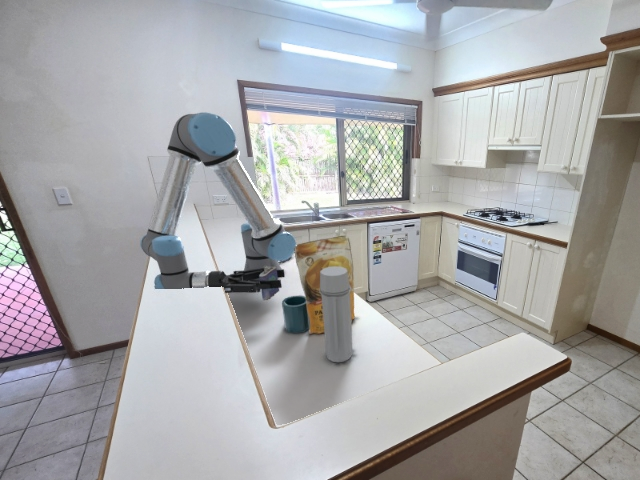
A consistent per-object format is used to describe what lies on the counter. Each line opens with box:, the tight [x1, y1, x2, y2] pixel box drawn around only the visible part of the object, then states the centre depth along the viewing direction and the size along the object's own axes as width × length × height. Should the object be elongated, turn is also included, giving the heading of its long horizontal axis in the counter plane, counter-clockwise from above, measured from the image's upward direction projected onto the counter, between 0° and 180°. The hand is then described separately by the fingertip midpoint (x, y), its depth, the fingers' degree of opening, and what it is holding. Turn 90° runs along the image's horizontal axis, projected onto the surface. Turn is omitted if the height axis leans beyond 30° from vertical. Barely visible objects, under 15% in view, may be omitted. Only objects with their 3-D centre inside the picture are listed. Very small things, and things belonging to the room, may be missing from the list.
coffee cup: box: [281, 295, 310, 334], centre depth 102 cm, size 8×8×9 cm
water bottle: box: [319, 266, 354, 363], centre depth 84 cm, size 9×8×25 cm
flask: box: [259, 266, 280, 301], centre depth 112 cm, size 9×3×11 cm, turn 172°
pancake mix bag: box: [294, 235, 356, 335], centre depth 100 cm, size 7×19×28 cm, turn 129°
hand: (282, 278), depth 113 cm, fingers closed on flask, 9 cm apart
